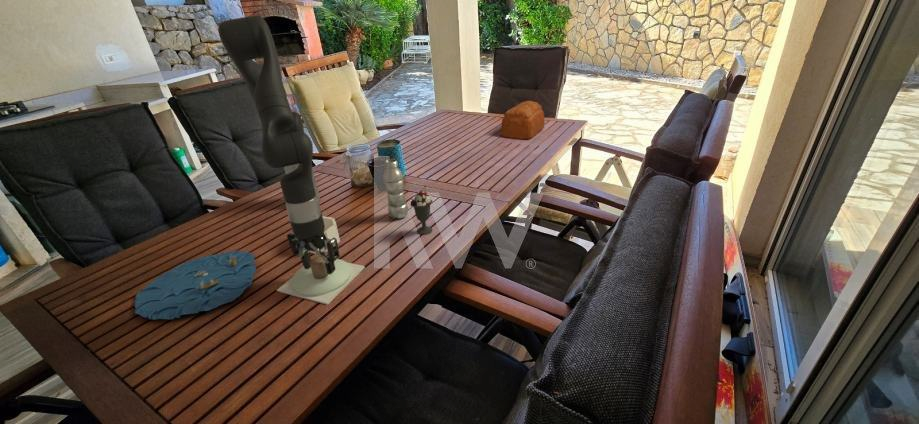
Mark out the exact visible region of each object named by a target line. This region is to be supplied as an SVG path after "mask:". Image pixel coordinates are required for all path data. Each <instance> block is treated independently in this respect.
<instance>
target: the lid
mask: <svg viewBox="0 0 919 424" xmlns="http://www.w3.org/2000/svg"><path fill="white" fill-rule="evenodd" d="M348 263H349V262H347V261H345V260H343V259H339V258H338V259H336V260H335V261H334V264H335V268H336V269H335V271H334V272H333V273H332V274H331V275H330V274H327V270H326V267H325V261H324V260H323V259H322V257H319V256H318V255H317V256H314V257H312V258H311V260H310V266H311V267H310V268H309V269H305V268H304V266H303V265H302V267H300V268H299V269H298V270H297V271H296V272H295V273H294V274H293V276H292V277H291V278H292V280H291V283H292V287H293V289H294V291H295V292H297V293H298V294H301V295H304V296H319V295H323V294H327V293H330V292H332V291H335V290H337V289H338V288H340V287H341V286H343V285H344V284H345V283H346V282H347V281H348V279H349V278H350V275H351V270H350V266H349V264H348Z"/></svg>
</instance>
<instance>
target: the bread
mask: <svg viewBox="0 0 919 424" xmlns="http://www.w3.org/2000/svg"><path fill="white" fill-rule="evenodd" d="M500 125H501V126H500V127H501V128H500V129H501V130H500V132H501V136H502V137H503V138H508V139H517V140H518V139H519V140H530V139H532V138H533V137H535V136H536V135H537V134H538V133H539V132H541V131H542V130H544V128H545V111H544V110H543V106H542V105H541V104H539V103H538V102H536V101H533V100H525V101H521V102H520V103H518V104H516V105H515V106H513V107H511V108H510V109H508V110H507V111H505V112H504V113H503V117H502V120H501V124H500Z"/></svg>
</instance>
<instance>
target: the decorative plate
mask: <svg viewBox="0 0 919 424" xmlns="http://www.w3.org/2000/svg"><path fill="white" fill-rule="evenodd" d="M255 263H256V259H255V256H254V253H253V252H246V251H245V250H244V251H243V250H236V249H235V250H233V251H230V250H229V251H226V252H220V253H216V254H212V255H207V256H205V255H204V256H203V257H197V258H194V259H191V260H190V261H189V260H188V261H184V262H183V263H181V264H178V266H176V267H173V268H172V269H170V270H169V271H166V272H165V273H162V274H160V275H159V276H157V277H156V278H155V279H152V281H151V282H149V283H148V284H147V285H146V286H144V287H143V288H142V290H141V291H139V292H138V293H136V295H135V301H134V307H135V310H133V313H135V315H140V316H141V317H143V318H145V319H147V320H153V321H154V320H155V321H156V320H159V319H161V320H174V319H175V318H177V319H181V316H182V315H183V316H184V315H191V314H197V313H199V312H203V311H204V312H207V311H211V310H212V309H216V308H218V307H220V306H222V305H224V304H228V303H232V302H233V301H236V298H237V299H238V298H241V295H242V294H243V293H244V291H245V290H246V289H247V288H248V287H250V286H251V285H252V284H253V281H254V280H255V279H254V278H253V276H255V273H256V269H257V265H256V264H255Z"/></svg>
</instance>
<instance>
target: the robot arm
mask: <svg viewBox="0 0 919 424" xmlns="http://www.w3.org/2000/svg"><path fill="white" fill-rule="evenodd" d="M217 30H218V36H219V39H220V41H221V43H222V45H223V47H224V49H225V51H226V53H227V54H228V56H229V57H230V59H231V61H232V62H233V63H234V66H235V67H236V68H237V70H238V72H239V74H240V76H241V77H242V79H243V80H244V83H245V85H246V87H247V89H248V92H249V94H250V96H251V97H252V99H253V102H254V103H255V104H254V105H255V108H256V112H257V115H258V117H259V119H260V120H259V121H260V124H261V129H262V136H261V137H262V140H261V154H262V158H263V160H264V162H265V163H266V165H268V166H269V167H271V168H273V169H281V168H284V169H283V170H284V171H285V175H283V176H282V177H281V178H280V181H279V183H280V189H281V191H282V194H283V198H284V202H285V207H286V214H287V217H288V220H289V223H290V227H291V232H289V233H288V234H287V235H286V237H287V240H288V244H289V246H290V249H291V252H292V253H293V255H298V257H299V258H300V259H301V262H302V267H303V266H304V268H305V269H309V268H310V267H311V266H310V260H311V259H312V258H311V253H309V251H313V252H316V253H315V254H316V255H317V257H318V256H319V257H322V259H323V260H324V261H325V267H326V270H327V274H330V275H331V274H332V273H333V272H334V271H335V269H336V268H335V264H334V261H335V260H336V259H339V258H340V257H341V256H340V251H339V243H338V244H337V239H336V238H332V239H328V238H327V237H326V236H325V234H324V228H325V225H324V221H323V217H322V216H323V213H322V208H321V205H320V200H321V198H320V194H319V189H318V184H317V181H316V177H315V173H314V169H313V168H314V167H313V155H314V149H313V148H314V146H313V142H312V140H311V138H310V137H309V135H308V134H307V133H305V131H304V130H305V129H304V123H303V120H302V117H301V115H300V114H299V113H298V112H296V111H292V109H291V106H290V103H289V100H288V97H287V91H286V88H285V86H284V80H283V77H282V71H281V66H280V61H279V57H278V53H277V48H276V45H275V41H274V38H273V35H272V33H271V29H270V27H269V25H268V24H267V22H266V20H265V19H264V18H263V17H262V16H260V15H250V16H244V17H238V18H233V19H227V20H223V21H222V22H220V23H219V24H218V29H217ZM261 58H263V63H262V64H260V63H258V62H256V61H255V60H256V59H261ZM323 247H324V248H325V249H324V250H323V251H322V252H321V251H320V250H321V249H322V248H323Z"/></svg>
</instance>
